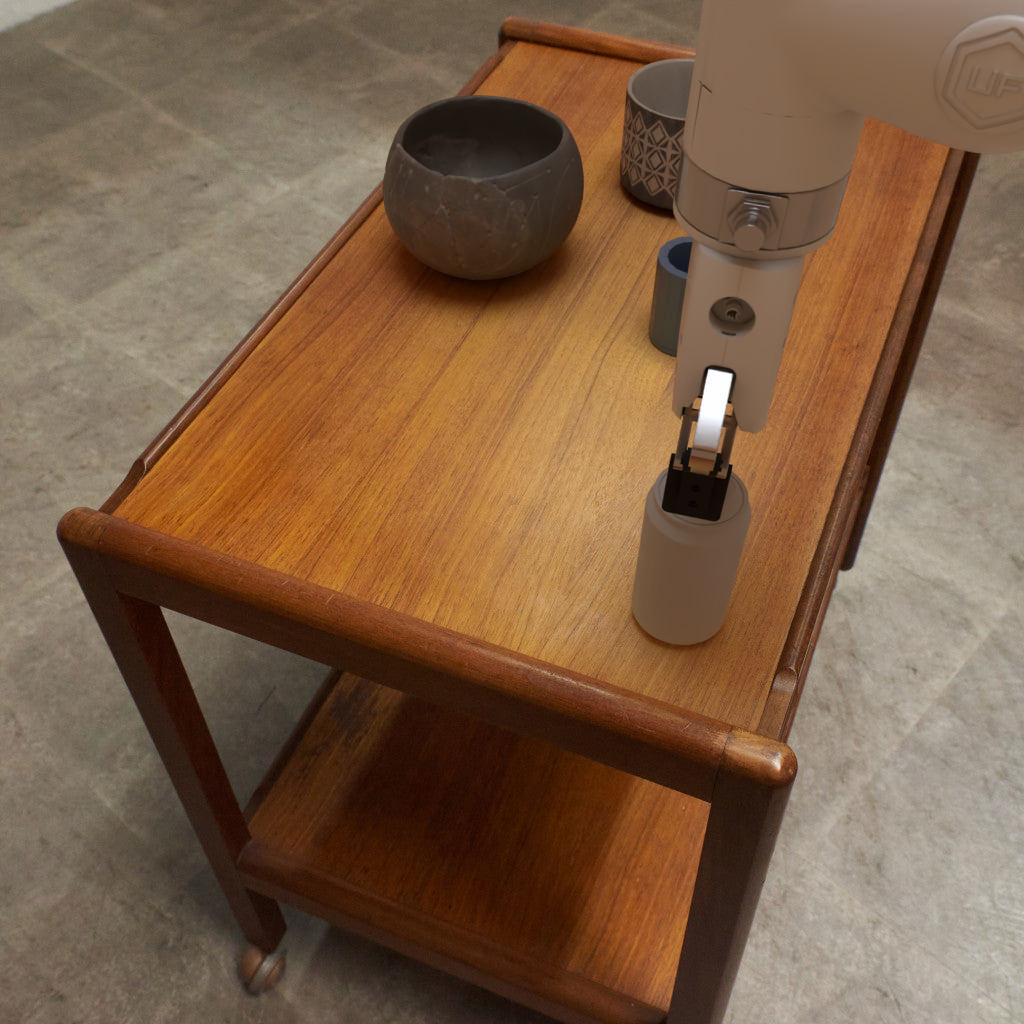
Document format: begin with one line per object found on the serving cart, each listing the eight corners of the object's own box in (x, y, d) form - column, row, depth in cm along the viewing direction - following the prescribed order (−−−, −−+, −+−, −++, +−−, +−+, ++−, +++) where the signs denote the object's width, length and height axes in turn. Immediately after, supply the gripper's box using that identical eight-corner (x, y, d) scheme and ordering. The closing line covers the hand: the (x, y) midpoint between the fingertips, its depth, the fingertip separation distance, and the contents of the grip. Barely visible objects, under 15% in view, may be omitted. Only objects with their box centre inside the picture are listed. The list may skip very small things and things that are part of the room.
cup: (724, 319, 94) (739, 242, 88) (715, 363, 90) (730, 285, 84) (655, 308, 95) (664, 231, 89) (643, 351, 91) (652, 273, 85)
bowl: (358, 290, 97) (342, 163, 87) (434, 190, 108) (427, 68, 99) (543, 332, 93) (547, 203, 83) (602, 224, 104) (611, 100, 95)
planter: (739, 157, 113) (756, 60, 105) (745, 224, 104) (764, 124, 96) (620, 151, 113) (628, 54, 106) (616, 217, 105) (625, 117, 97)
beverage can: (612, 596, 73) (627, 475, 64) (690, 563, 75) (715, 441, 66) (663, 665, 70) (685, 546, 61) (743, 629, 71) (777, 508, 63)
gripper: (831, 313, 42) (751, 580, 55) (851, 108, 53) (781, 369, 66) (645, 281, 43) (609, 550, 56) (703, 87, 55) (662, 348, 67)
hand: (702, 452), depth 61 cm, fingers open, 9 cm apart
